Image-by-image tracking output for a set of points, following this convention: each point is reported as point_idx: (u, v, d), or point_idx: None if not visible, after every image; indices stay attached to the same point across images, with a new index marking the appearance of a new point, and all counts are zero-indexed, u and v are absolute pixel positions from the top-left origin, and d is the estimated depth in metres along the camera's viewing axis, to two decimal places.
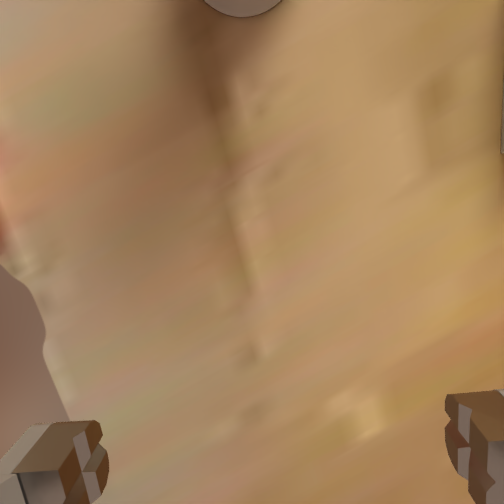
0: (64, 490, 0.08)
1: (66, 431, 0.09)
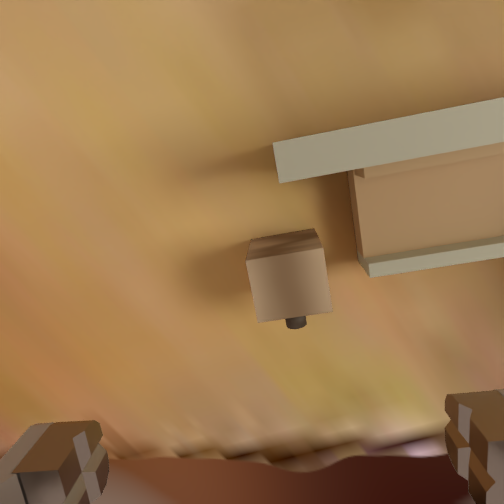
0: (64, 490, 0.08)
1: (66, 431, 0.09)
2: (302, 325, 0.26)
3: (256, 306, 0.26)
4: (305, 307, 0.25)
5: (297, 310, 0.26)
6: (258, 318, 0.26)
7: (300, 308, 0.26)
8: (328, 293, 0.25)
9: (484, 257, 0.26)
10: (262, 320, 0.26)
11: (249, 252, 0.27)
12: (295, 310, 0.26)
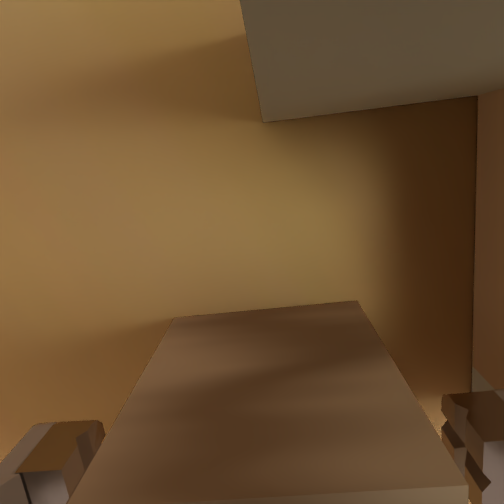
0: (67, 490, 0.08)
1: (69, 431, 0.09)
2: None
3: None
4: None
5: None
6: None
7: None
8: None
9: None
10: None
11: (127, 411, 0.07)
12: None
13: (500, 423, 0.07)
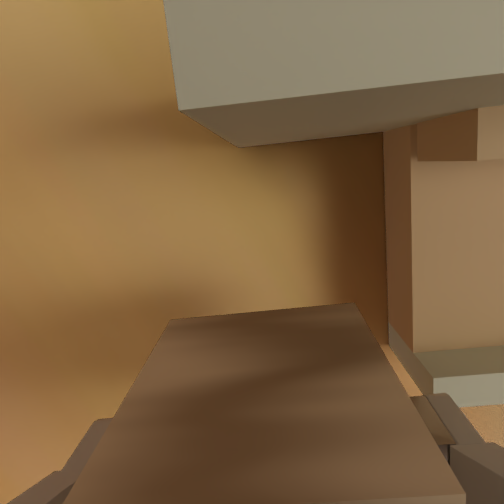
0: None
1: None
2: None
3: None
4: None
5: None
6: None
7: None
8: None
9: None
10: None
11: (120, 416, 0.07)
12: None
13: None
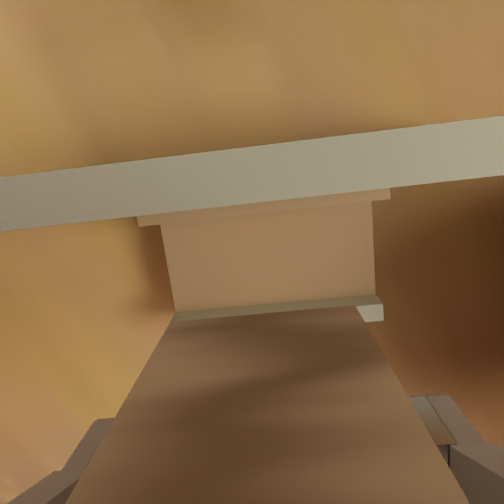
0: None
1: None
2: None
3: None
4: None
5: None
6: None
7: None
8: None
9: None
10: None
11: (120, 421, 0.07)
12: None
13: None
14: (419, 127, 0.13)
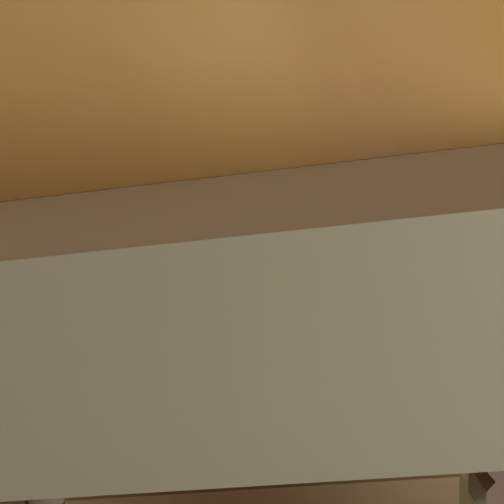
0: None
1: None
2: None
3: None
4: None
5: None
6: None
7: None
8: None
9: None
10: None
11: None
12: None
13: None
14: None
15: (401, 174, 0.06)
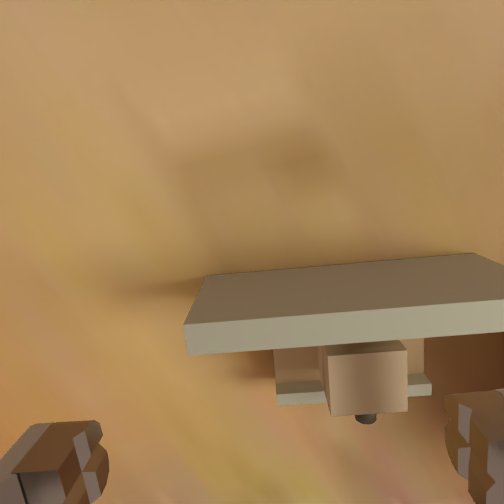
0: (64, 490, 0.08)
1: (66, 431, 0.09)
2: (373, 421, 0.26)
3: (332, 400, 0.25)
4: (381, 405, 0.25)
5: (372, 407, 0.25)
6: (332, 412, 0.26)
7: (376, 406, 0.25)
8: (406, 393, 0.25)
9: None
10: (336, 414, 0.26)
11: None
12: (370, 407, 0.25)
13: None
14: (475, 302, 0.22)
15: (396, 287, 0.25)
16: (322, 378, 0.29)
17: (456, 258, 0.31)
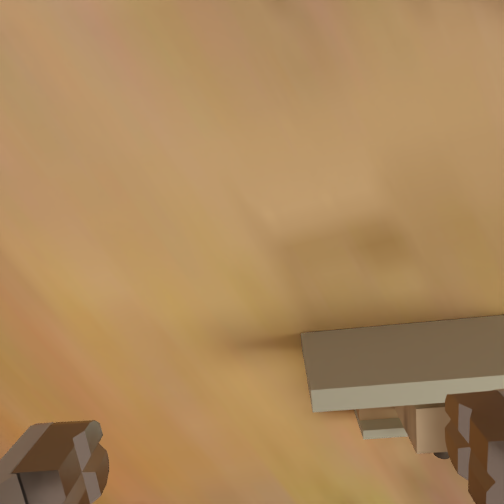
0: (64, 490, 0.08)
1: (66, 431, 0.09)
2: None
3: (417, 441, 0.33)
4: None
5: None
6: (417, 450, 0.33)
7: None
8: None
9: None
10: (420, 452, 0.33)
11: None
12: None
13: None
14: None
15: (467, 354, 0.33)
16: (402, 419, 0.36)
17: None
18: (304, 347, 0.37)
